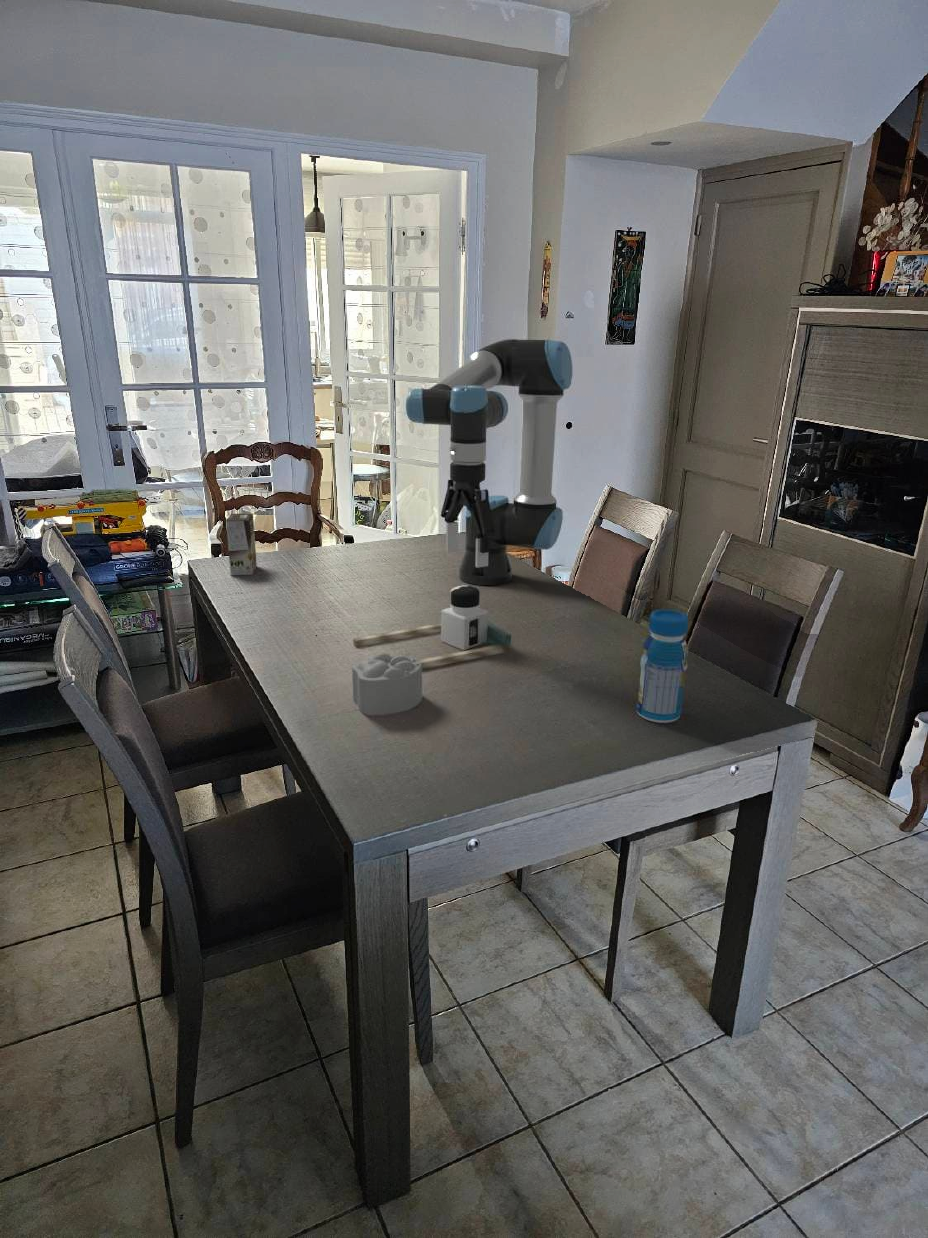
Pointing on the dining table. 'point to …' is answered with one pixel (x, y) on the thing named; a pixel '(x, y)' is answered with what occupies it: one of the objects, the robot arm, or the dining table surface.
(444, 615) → the container
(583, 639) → the dining table surface
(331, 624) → the dining table surface
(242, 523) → the coffee box
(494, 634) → the beige u-shaped frame
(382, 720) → the dining table surface
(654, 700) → the beverage bottle
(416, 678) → the lumpy-topped squat cylinder
